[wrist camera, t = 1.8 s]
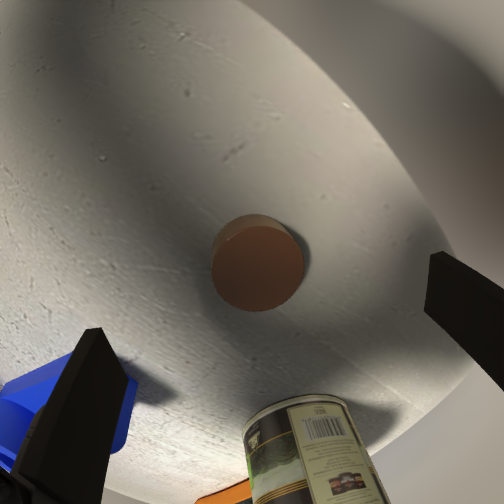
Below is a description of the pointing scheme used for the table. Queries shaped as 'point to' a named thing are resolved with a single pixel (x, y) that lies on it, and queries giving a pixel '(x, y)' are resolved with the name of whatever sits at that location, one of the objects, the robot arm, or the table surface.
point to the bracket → (33, 398)
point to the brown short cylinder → (256, 263)
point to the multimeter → (230, 496)
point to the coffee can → (309, 455)
